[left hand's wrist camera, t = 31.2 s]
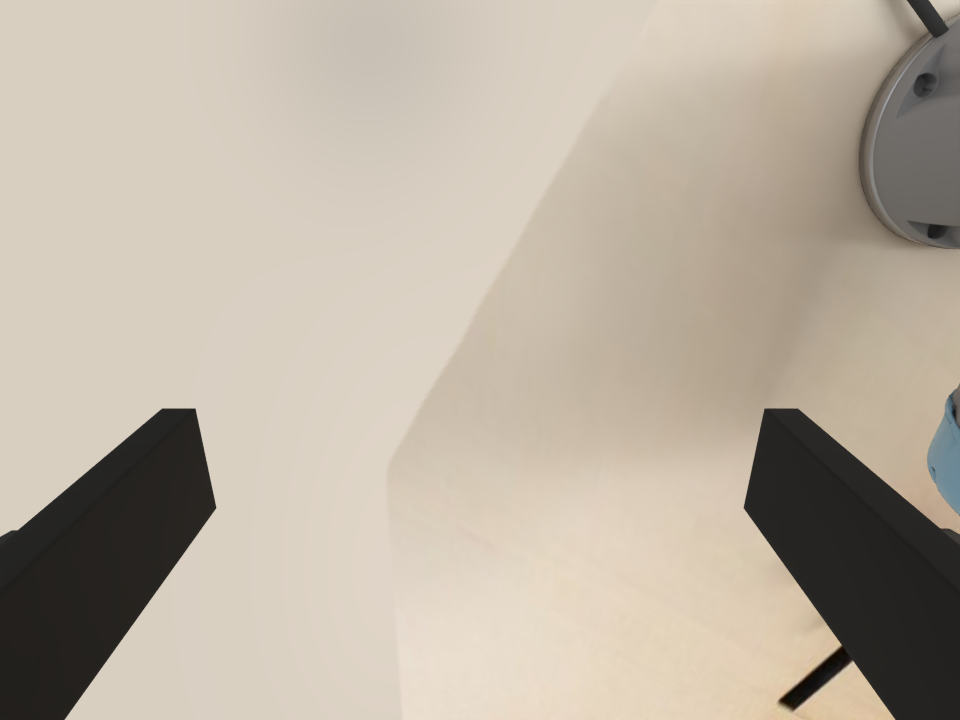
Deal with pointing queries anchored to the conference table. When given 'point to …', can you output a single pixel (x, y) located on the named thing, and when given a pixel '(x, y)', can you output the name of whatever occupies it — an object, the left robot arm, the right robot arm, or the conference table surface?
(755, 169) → the conference table surface
